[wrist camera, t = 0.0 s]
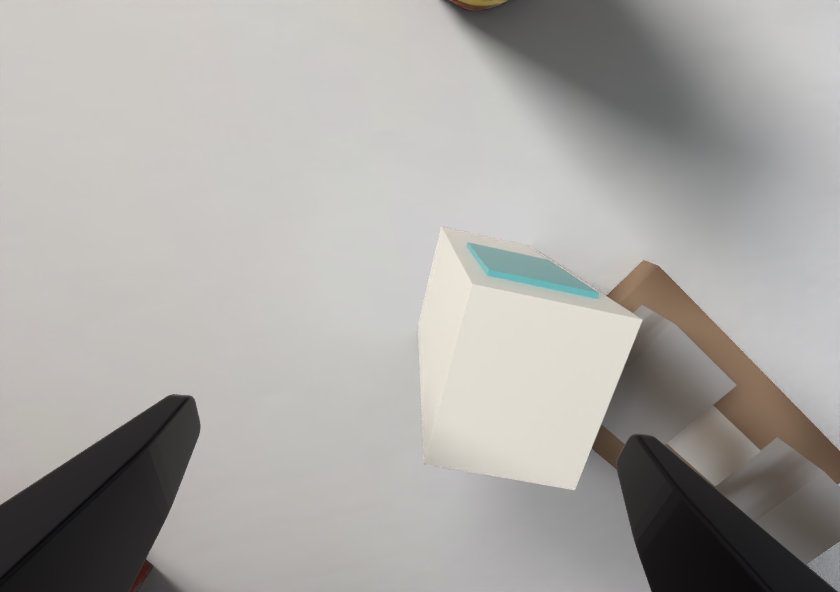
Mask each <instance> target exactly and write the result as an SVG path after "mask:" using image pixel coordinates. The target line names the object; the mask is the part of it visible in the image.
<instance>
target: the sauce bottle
mask: <svg viewBox="0 0 840 592" xmlns="http://www.w3.org/2000/svg"><path fill="white" fill-rule="evenodd" d="M449 1H452V2H453V3H455V4H457V5H459V6H461V7H462V8H464V9H468V10H471V11H476V10H482V9H490V8H492V7H495V6H498V5H500V4H502V3H505V2H506V1H508V0H449Z"/></svg>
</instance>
